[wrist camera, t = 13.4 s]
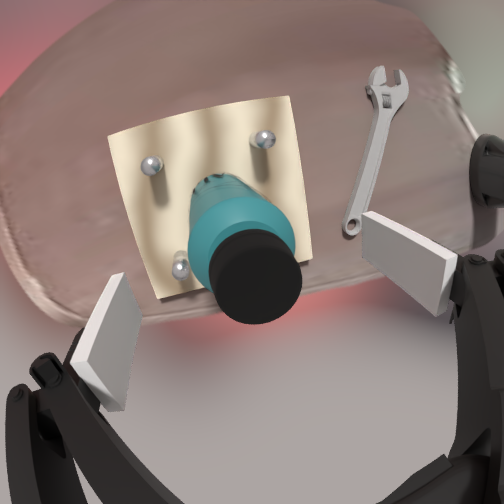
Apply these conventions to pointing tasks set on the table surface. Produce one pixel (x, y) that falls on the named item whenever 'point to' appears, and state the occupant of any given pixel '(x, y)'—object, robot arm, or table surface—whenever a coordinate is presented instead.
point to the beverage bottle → (242, 250)
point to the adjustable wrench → (375, 141)
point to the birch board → (196, 168)
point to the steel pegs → (156, 164)
